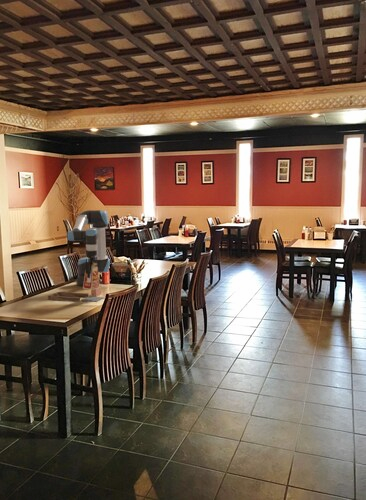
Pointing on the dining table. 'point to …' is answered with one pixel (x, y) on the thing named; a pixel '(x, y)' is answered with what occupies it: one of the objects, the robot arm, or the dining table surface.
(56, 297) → the brown wooden tray
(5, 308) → the dining table surface
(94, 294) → the latch block
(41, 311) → the dining table surface
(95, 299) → the mat
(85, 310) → the dining table surface
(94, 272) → the milk carton
